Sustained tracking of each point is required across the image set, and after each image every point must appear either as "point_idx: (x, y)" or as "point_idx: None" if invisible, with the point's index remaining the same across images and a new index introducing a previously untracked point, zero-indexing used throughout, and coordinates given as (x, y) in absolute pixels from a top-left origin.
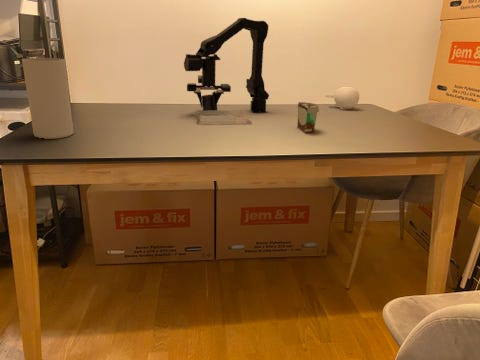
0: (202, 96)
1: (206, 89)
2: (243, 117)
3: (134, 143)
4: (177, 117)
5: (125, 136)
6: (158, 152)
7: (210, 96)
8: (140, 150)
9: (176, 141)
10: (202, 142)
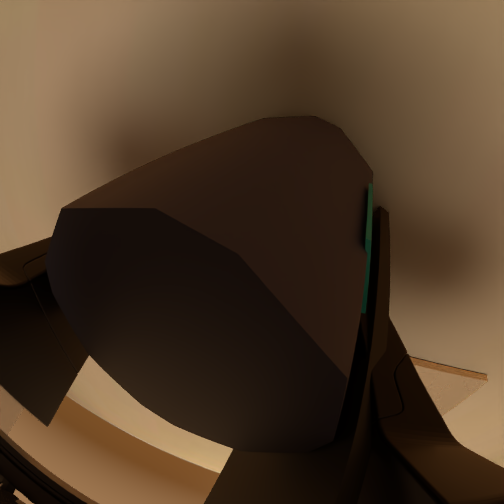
0: (73, 327)
1: (73, 492)
2: (457, 388)
3: (72, 385)
4: (53, 208)
5: None
6: (118, 424)
7: (206, 430)
8: (94, 408)
9: (130, 418)
10: (178, 442)
